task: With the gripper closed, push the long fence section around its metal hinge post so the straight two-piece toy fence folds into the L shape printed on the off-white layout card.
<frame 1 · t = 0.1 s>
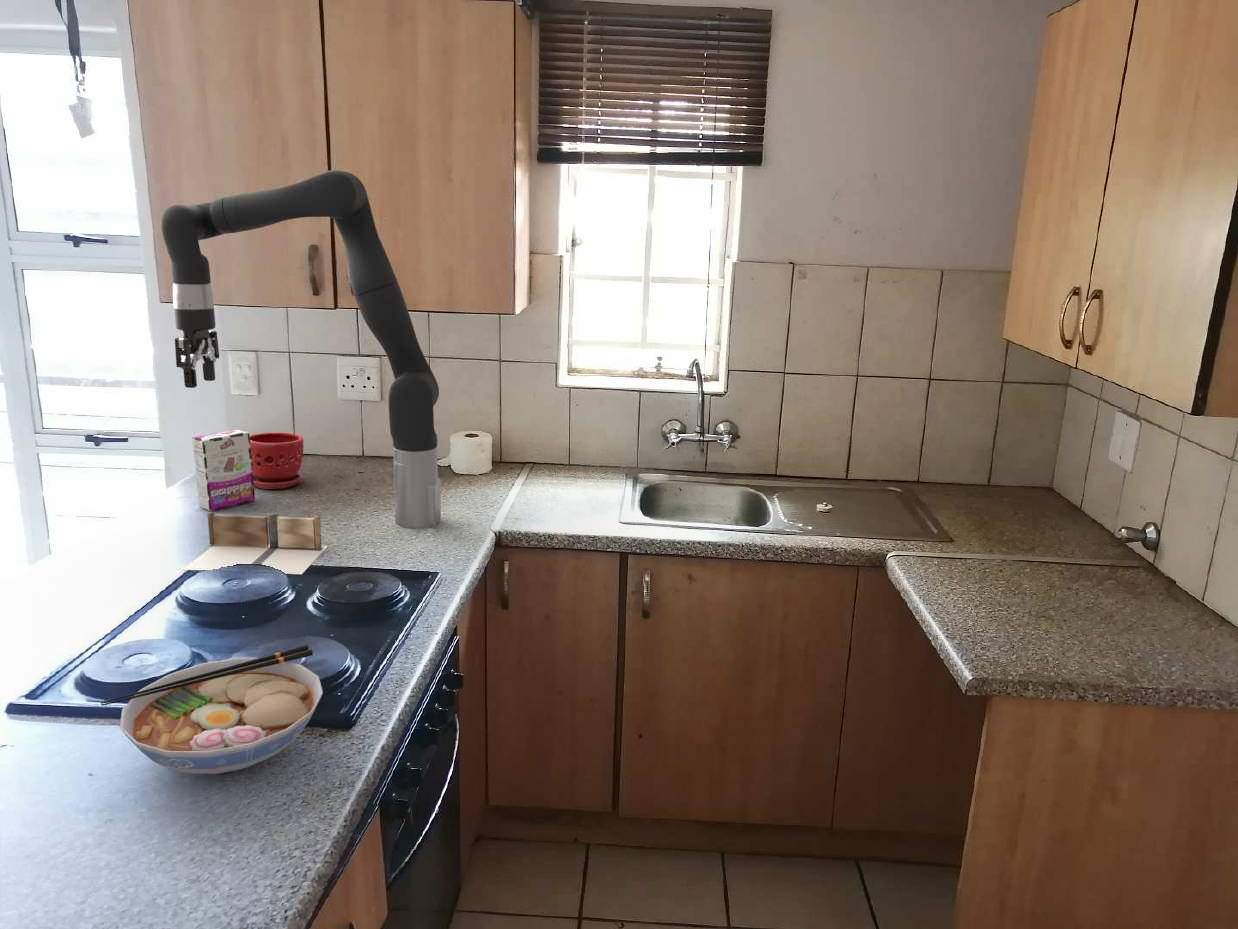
hand: (200, 383, 191), 29 cm above the countertop, fingers open, 8 cm apart
ramen bowl: (229, 755, 113), on the countertop
candy bar box: (227, 505, 207), on the countertop
layout card: (258, 559, 175), on the countertop
fence hinged panel: (237, 529, 180), point 4 cm above the countertop, hinge at 0.0°
fence fixed: (274, 547, 180), resting on layout card
plant pot: (277, 485, 223), on the countertop
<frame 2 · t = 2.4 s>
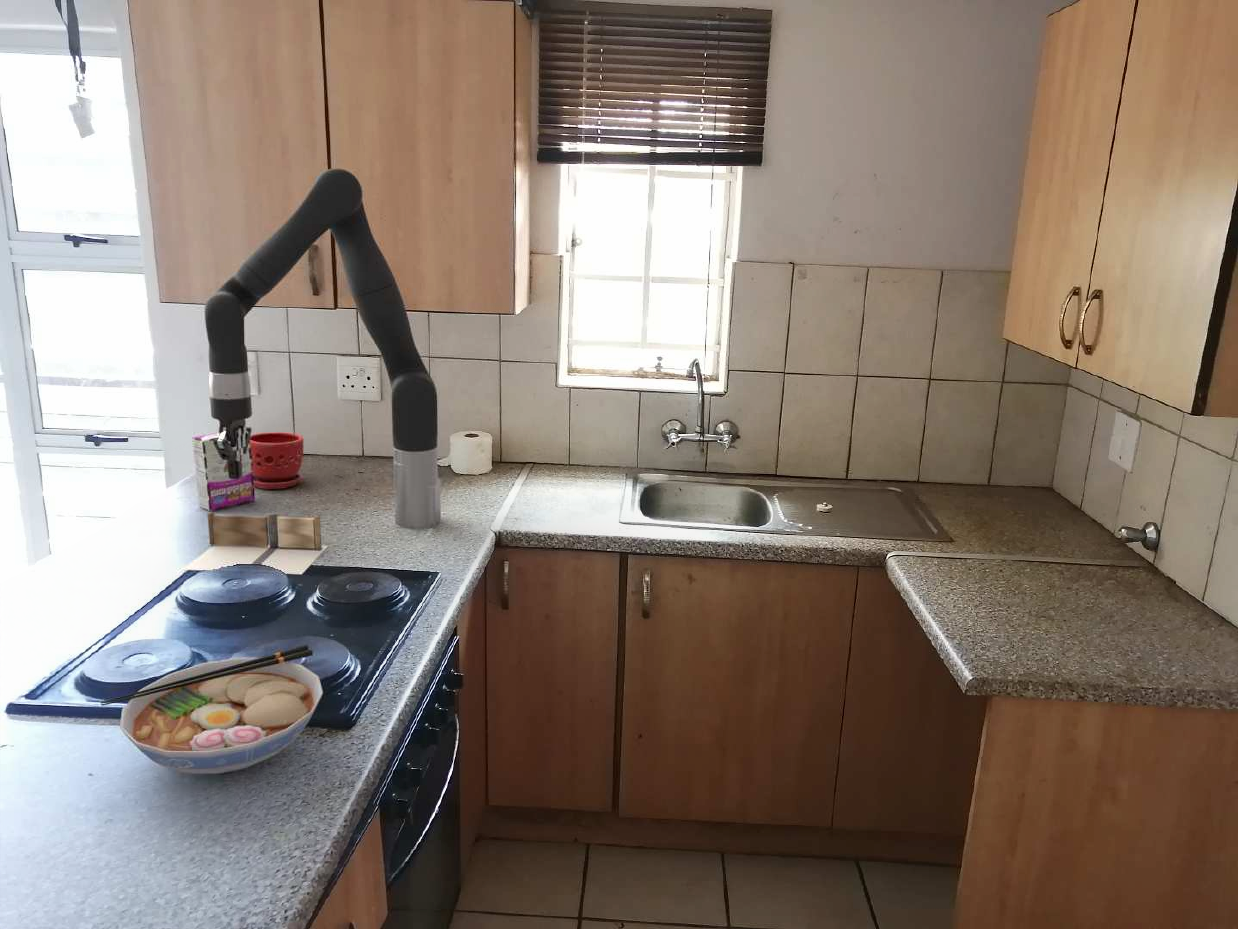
hand: (235, 477, 185), 12 cm above the countertop, fingers closed
nothing on the countertop moved.
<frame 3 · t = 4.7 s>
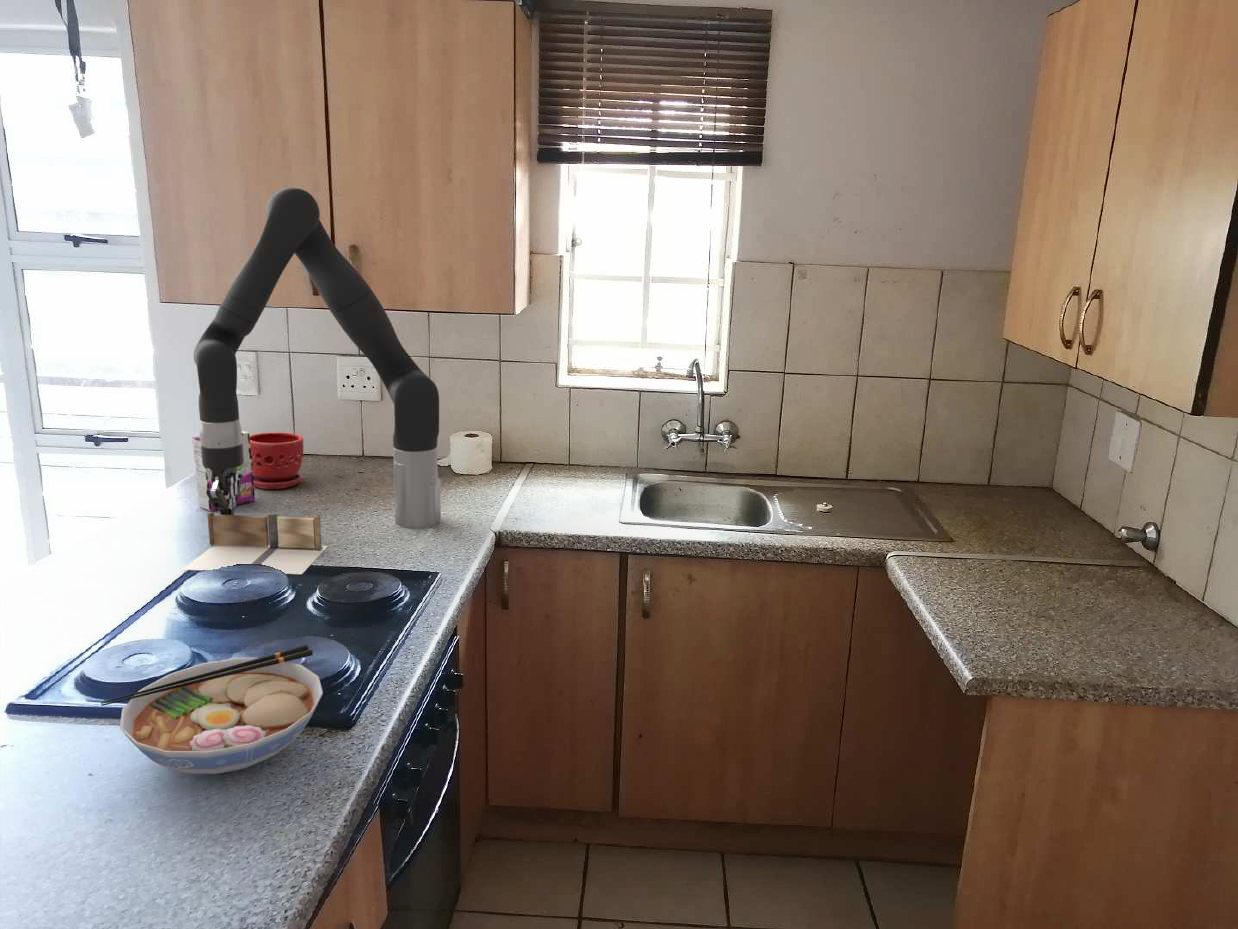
hand: (228, 525, 182), 4 cm above the countertop, fingers closed
fence hinged panel: (237, 529, 180), point 4 cm above the countertop, hinge at 0.2°, touching gripper
everything else where it was.
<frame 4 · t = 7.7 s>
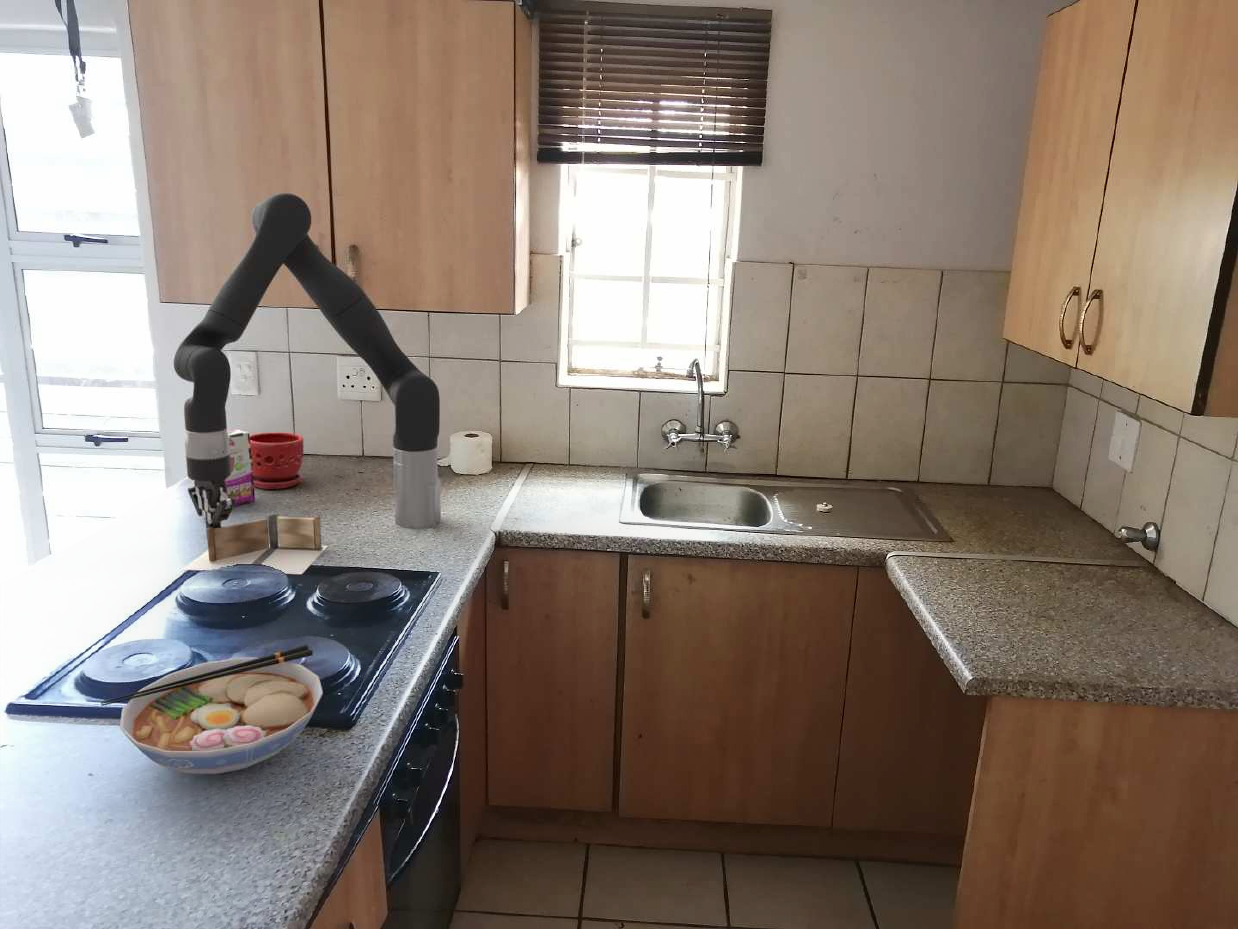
hand: (214, 539, 174), 4 cm above the countertop, fingers closed
fence hinged panel: (238, 538, 175), point 4 cm above the countertop, hinge at 47.0°, touching gripper
everything else where it was.
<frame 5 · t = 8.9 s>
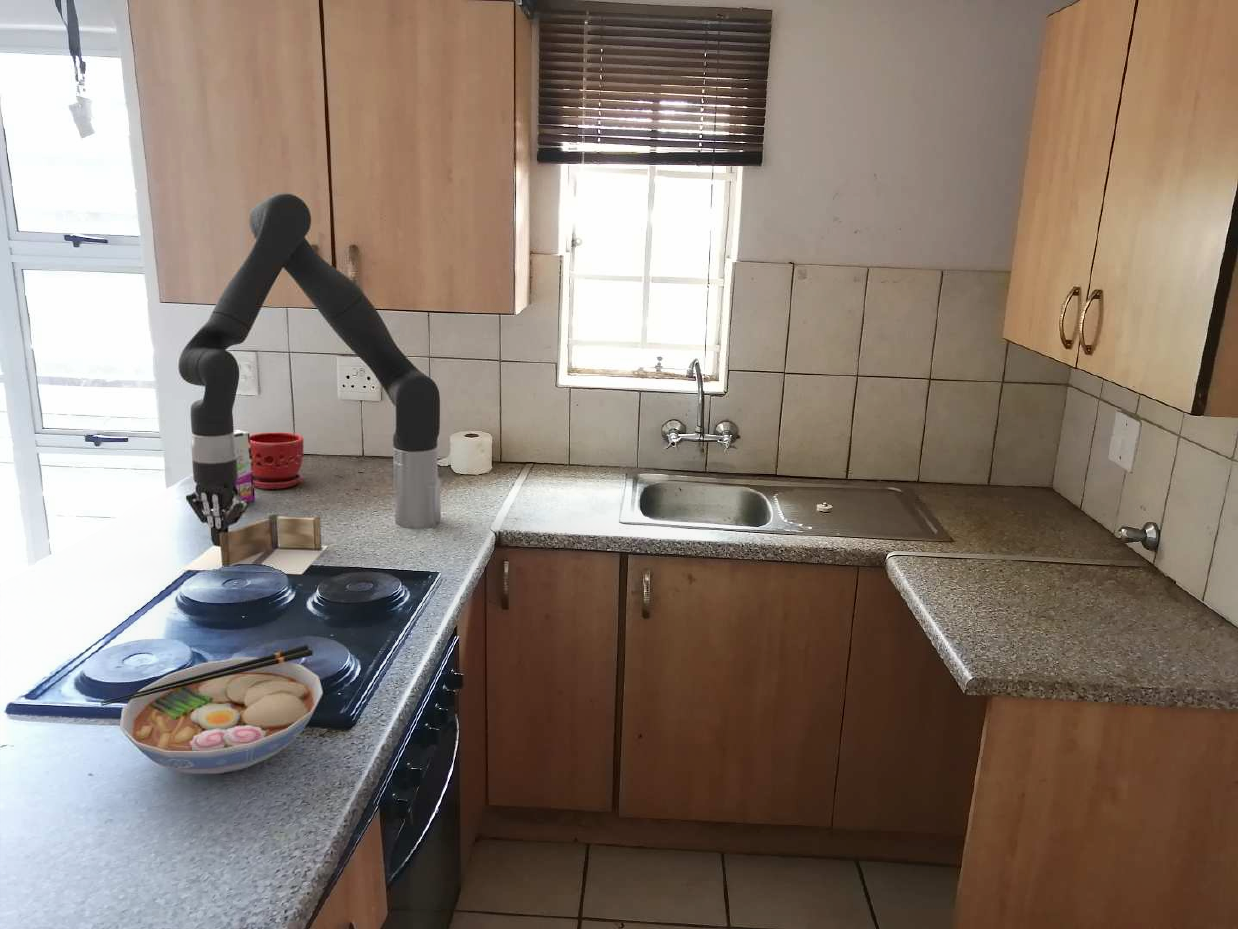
hand: (220, 545, 172), 4 cm above the countertop, fingers closed
fence hinged panel: (245, 541, 173), point 4 cm above the countertop, hinge at 66.3°, touching gripper
everything else where it was.
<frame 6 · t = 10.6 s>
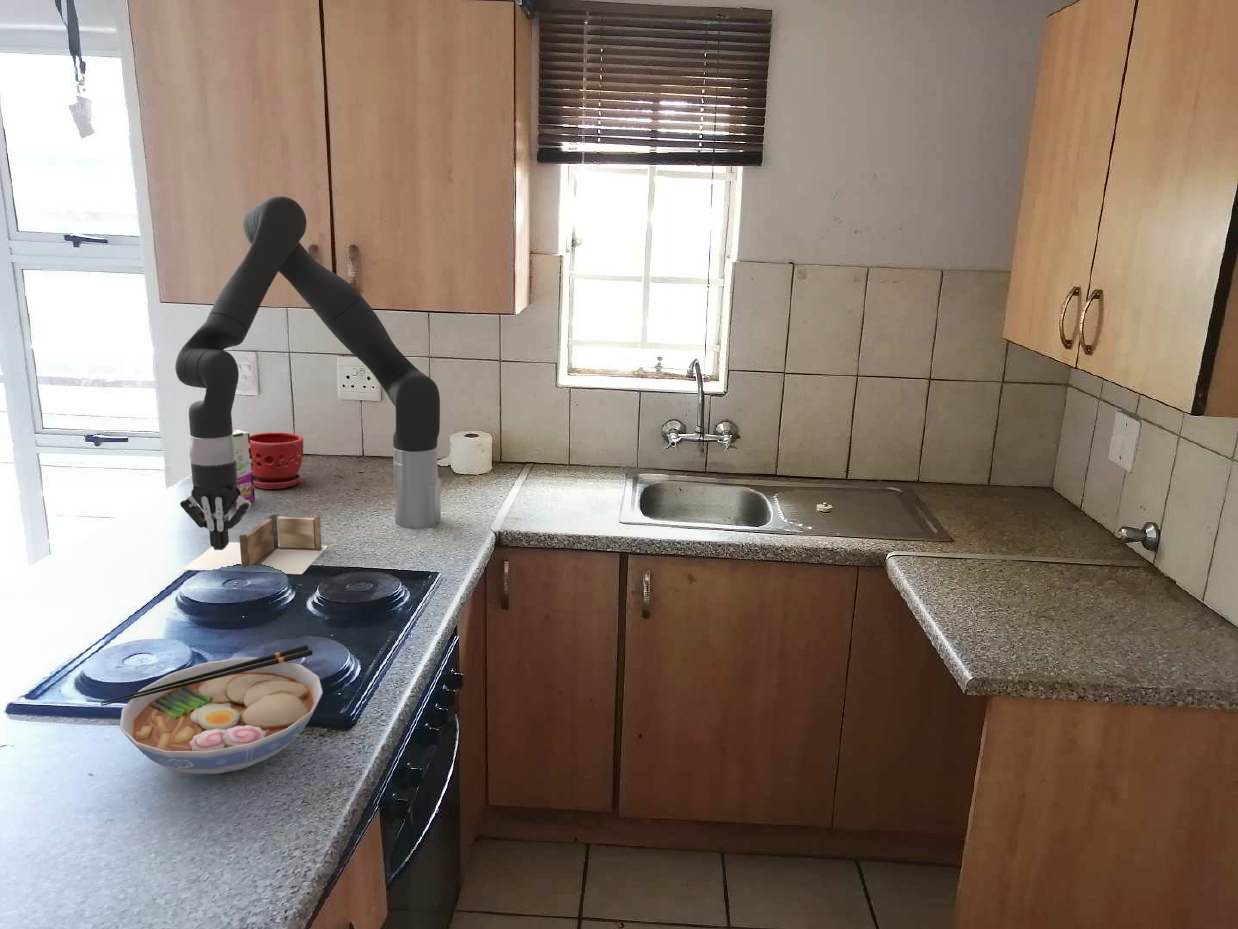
hand: (219, 548, 169), 4 cm above the countertop, fingers closed
fence hinged panel: (256, 542, 173), point 4 cm above the countertop, hinge at 86.3°
everything else where it was.
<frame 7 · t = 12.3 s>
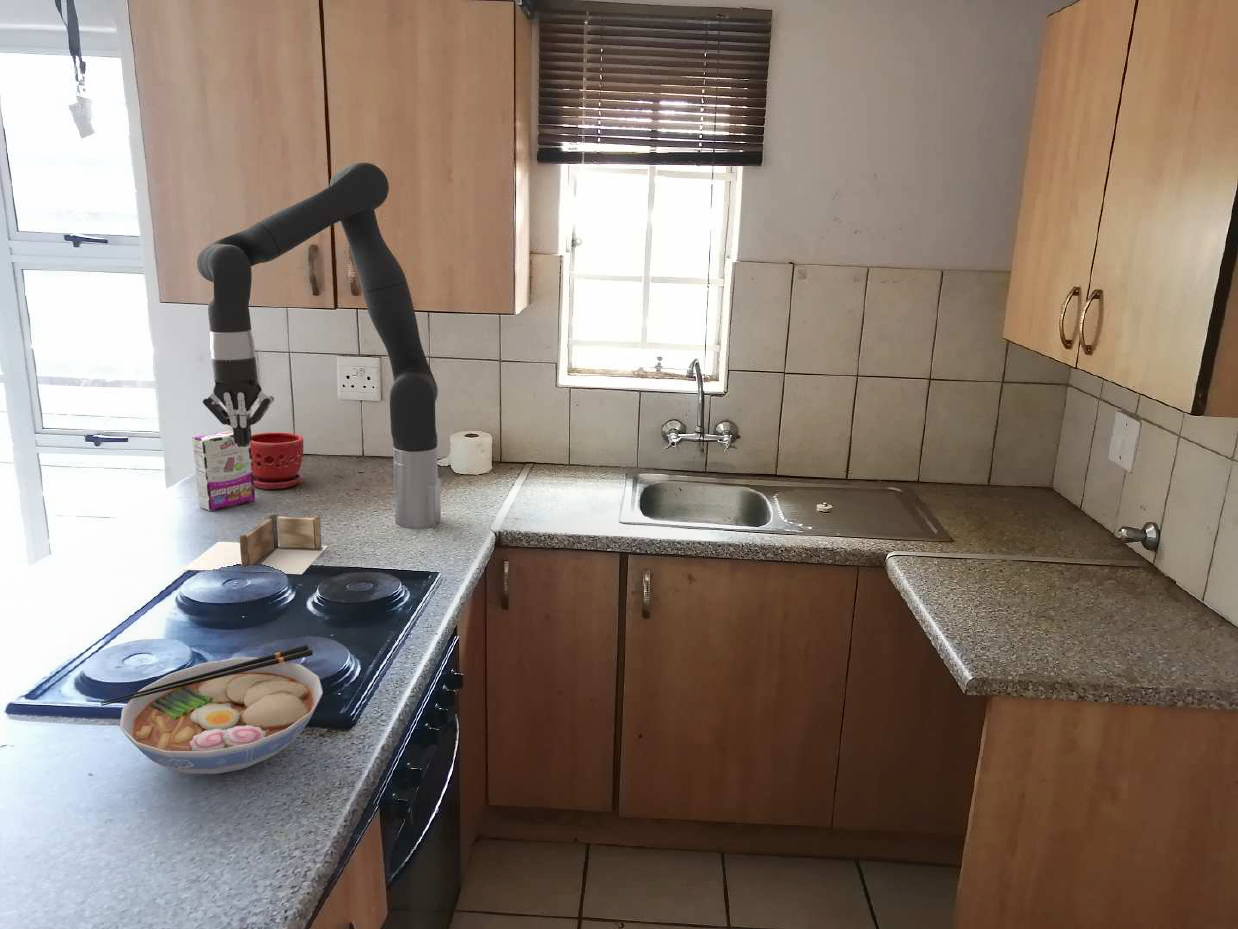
hand: (243, 445, 173), 21 cm above the countertop, fingers closed
nothing on the countertop moved.
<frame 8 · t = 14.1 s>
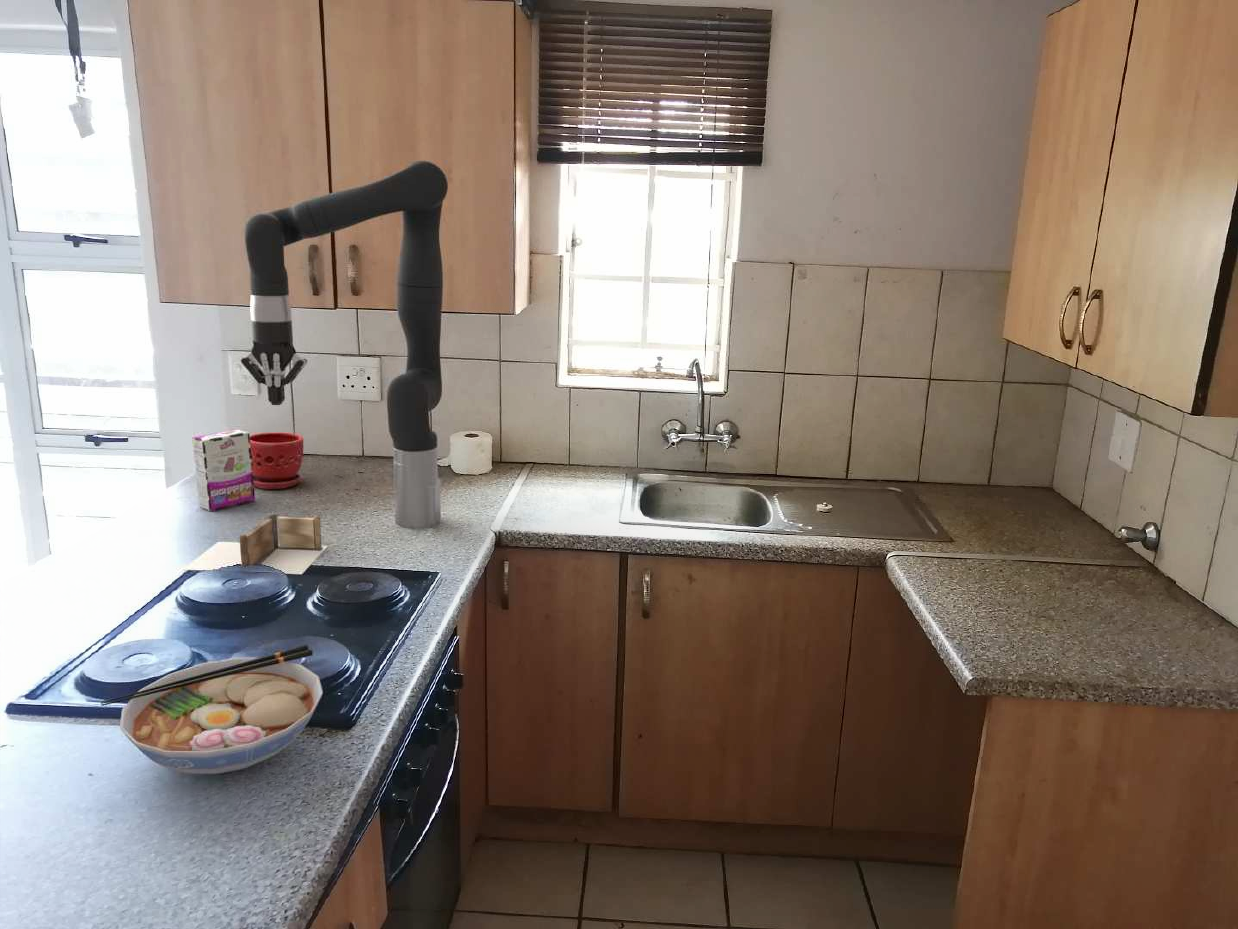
hand: (276, 404, 184), 27 cm above the countertop, fingers closed
nothing on the countertop moved.
at the end: fence hinged panel at +86° (first picture: +0°) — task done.
